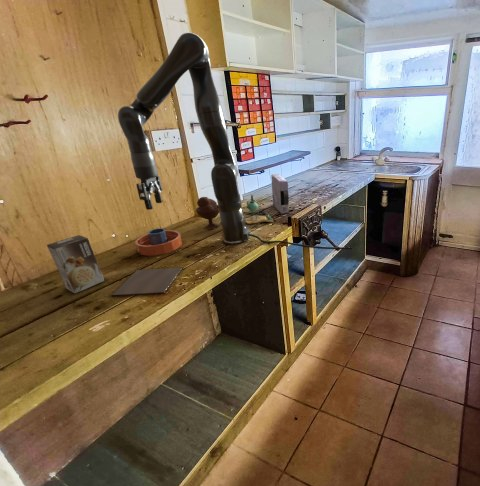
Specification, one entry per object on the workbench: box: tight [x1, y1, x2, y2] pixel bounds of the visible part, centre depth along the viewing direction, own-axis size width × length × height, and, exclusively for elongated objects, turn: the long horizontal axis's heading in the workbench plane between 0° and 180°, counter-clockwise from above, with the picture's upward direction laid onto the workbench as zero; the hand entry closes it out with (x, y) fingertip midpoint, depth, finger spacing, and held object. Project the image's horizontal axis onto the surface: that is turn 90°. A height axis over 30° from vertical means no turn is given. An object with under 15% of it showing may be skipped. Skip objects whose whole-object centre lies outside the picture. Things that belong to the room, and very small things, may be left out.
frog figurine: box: [242, 194, 275, 225], centre depth 153 cm, size 10×18×15 cm, turn 67°
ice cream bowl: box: [195, 196, 219, 229], centre depth 147 cm, size 11×11×15 cm
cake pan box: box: [270, 173, 290, 215], centre depth 169 cm, size 19×5×18 cm, turn 23°
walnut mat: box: [111, 267, 183, 297], centre depth 105 cm, size 16×16×1 cm
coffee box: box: [46, 234, 105, 294], centre depth 101 cm, size 9×6×16 cm
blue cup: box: [147, 227, 168, 246], centre depth 128 cm, size 6×6×7 cm
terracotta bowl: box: [134, 229, 183, 257], centre depth 129 cm, size 17×17×4 cm
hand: (154, 205), depth 123 cm, fingers open, 8 cm apart
